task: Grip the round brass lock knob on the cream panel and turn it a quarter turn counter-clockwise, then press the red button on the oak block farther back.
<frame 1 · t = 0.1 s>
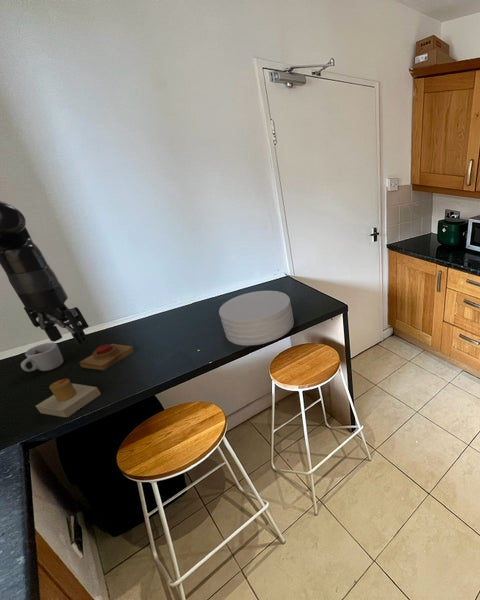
hand: (70, 341, 83), 26 cm above the countertop, tool pointing down, fingers open, 8 cm apart
plate stack: (261, 327, 139), on the countertop
lock knob: (63, 389, 96), point 6 cm above the countertop, hinge at 0.0°
cup: (48, 369, 113), on the countertop
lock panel: (71, 403, 99), on the countertop
button block: (109, 358, 119), on the countertop
button: (104, 349, 117), point 4 cm above the countertop, slide at 0.1 cm
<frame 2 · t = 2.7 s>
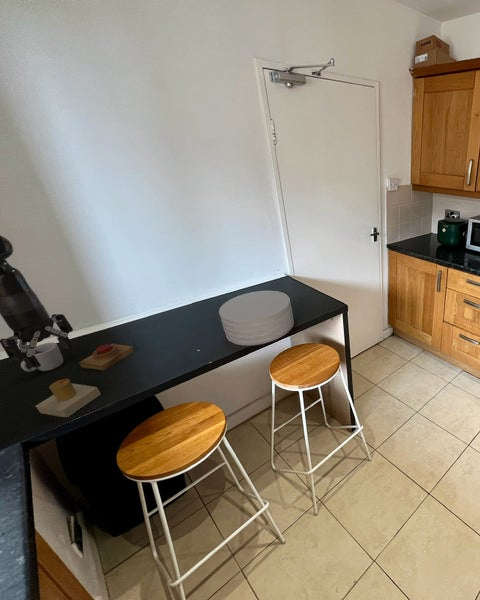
hand: (52, 357, 89), 19 cm above the countertop, tool pointing down, fingers open, 8 cm apart
nothing on the countertop moved.
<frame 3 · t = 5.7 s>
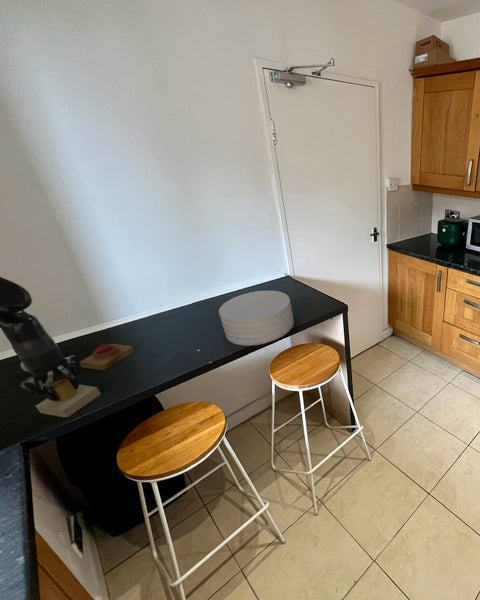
hand: (66, 394, 97), 4 cm above the countertop, tool pointing down, fingers closed on lock knob, 4 cm apart
lock knob: (63, 389, 96), point 6 cm above the countertop, hinge at 0.0°, touching gripper
everything else where it was.
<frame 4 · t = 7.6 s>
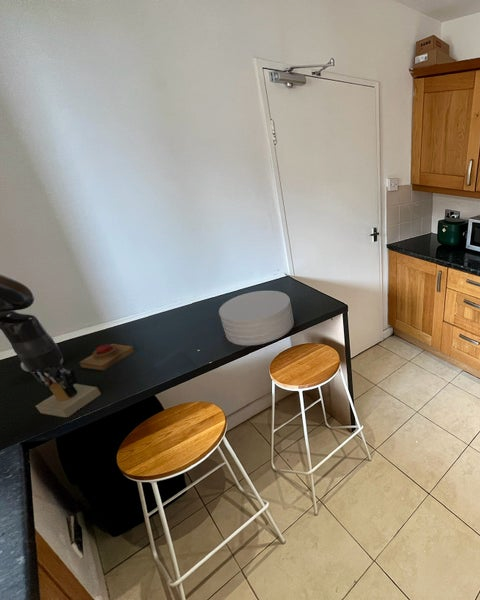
hand: (66, 394, 97), 4 cm above the countertop, tool pointing down, fingers closed on lock knob, 4 cm apart
lock knob: (63, 389, 96), point 6 cm above the countertop, hinge at 91.9°, touching gripper
everything else where it was.
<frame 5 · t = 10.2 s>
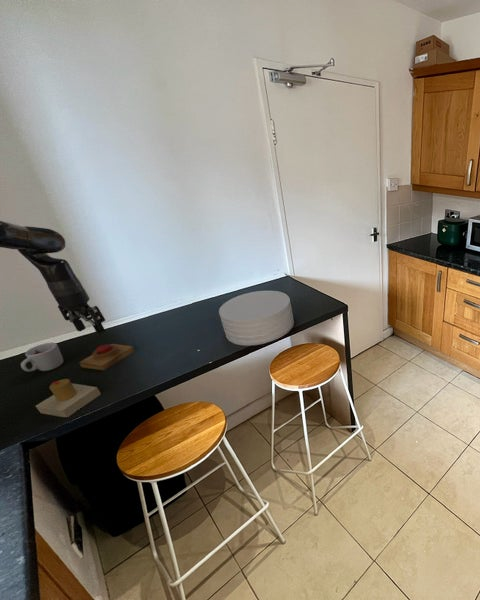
hand: (91, 331, 110), 14 cm above the countertop, tool pointing down, fingers open, 8 cm apart
lock knob: (63, 389, 96), point 6 cm above the countertop, hinge at 91.8°
everything else where it was.
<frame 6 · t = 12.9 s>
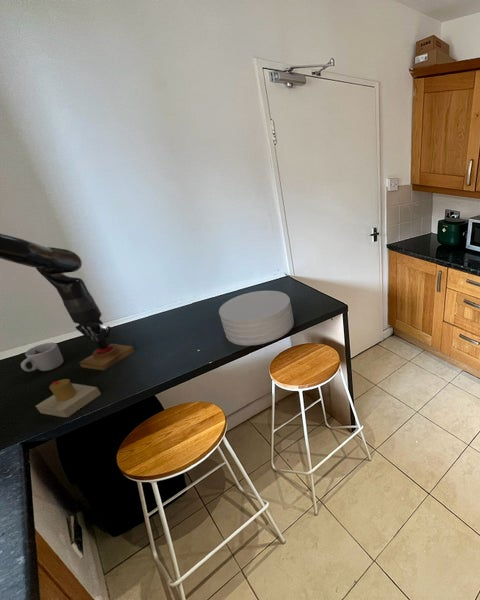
hand: (103, 347, 116), 5 cm above the countertop, tool pointing down, fingers closed
button: (104, 349, 117), point 4 cm above the countertop, slide at -0.2 cm, touching gripper
everything else where it was.
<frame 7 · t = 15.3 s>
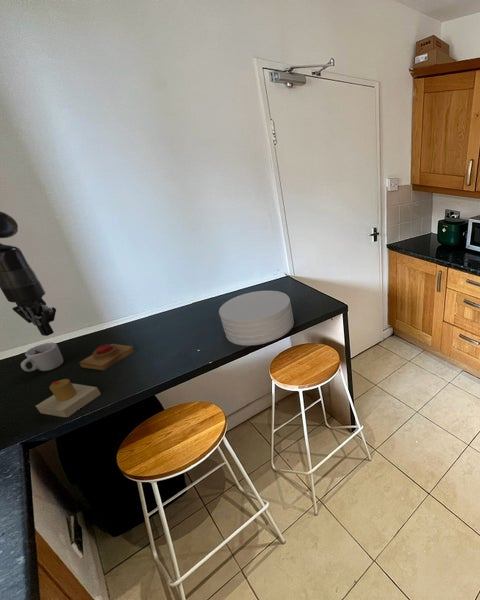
hand: (48, 334, 97), 20 cm above the countertop, tool pointing down, fingers closed
button: (104, 349, 117), point 4 cm above the countertop, slide at 0.1 cm
everything else where it was.
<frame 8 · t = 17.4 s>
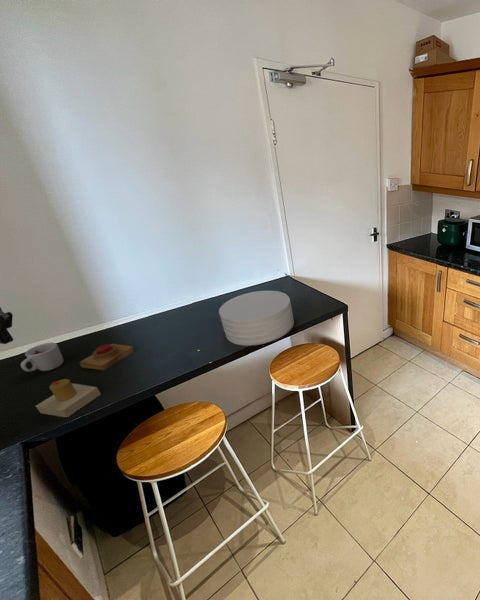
hand: (7, 342, 85), 25 cm above the countertop, tool pointing down, fingers closed
nothing on the countertop moved.
at the end: lock knob at +92° (first picture: +0°); button pushed in 1.1 cm at the most during the clip, back to where it started at the end; button slide at 0.1 cm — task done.
